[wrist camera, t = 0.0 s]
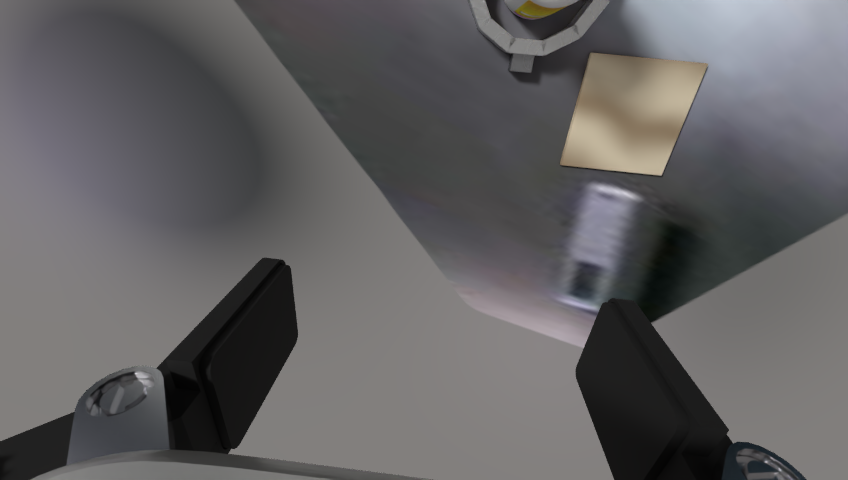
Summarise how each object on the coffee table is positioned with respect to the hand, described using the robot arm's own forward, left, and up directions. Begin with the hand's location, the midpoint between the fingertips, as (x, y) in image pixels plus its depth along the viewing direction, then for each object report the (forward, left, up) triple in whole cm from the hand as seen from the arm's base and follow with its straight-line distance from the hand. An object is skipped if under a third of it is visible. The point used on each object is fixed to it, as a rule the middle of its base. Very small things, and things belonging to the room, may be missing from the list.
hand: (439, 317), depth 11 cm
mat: (-3, +18, -31) cm, 36 cm away
